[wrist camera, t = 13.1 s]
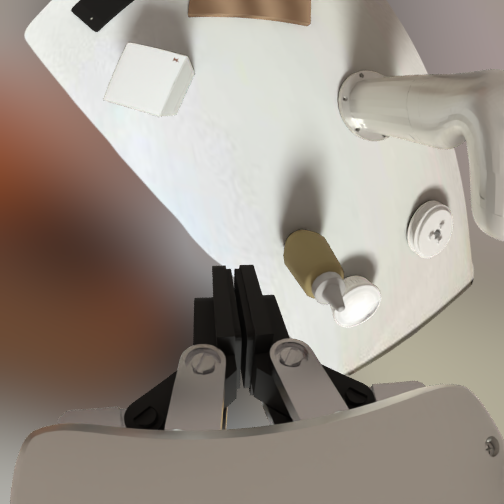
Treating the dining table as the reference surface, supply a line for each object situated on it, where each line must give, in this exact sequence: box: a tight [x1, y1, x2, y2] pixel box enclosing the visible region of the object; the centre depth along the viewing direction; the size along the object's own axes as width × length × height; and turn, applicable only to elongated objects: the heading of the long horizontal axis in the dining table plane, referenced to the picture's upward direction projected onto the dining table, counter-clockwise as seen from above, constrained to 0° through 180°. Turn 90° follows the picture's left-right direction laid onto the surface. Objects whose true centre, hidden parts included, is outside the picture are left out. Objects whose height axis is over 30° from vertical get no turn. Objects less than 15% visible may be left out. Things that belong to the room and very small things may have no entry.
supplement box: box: [103, 42, 195, 117], centre depth 27 cm, size 7×7×13 cm
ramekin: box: [330, 276, 381, 327], centre depth 54 cm, size 11×11×5 cm
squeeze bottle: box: [283, 229, 346, 312], centre depth 40 cm, size 8×8×18 cm
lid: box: [407, 201, 453, 258], centre depth 49 cm, size 13×13×5 cm
